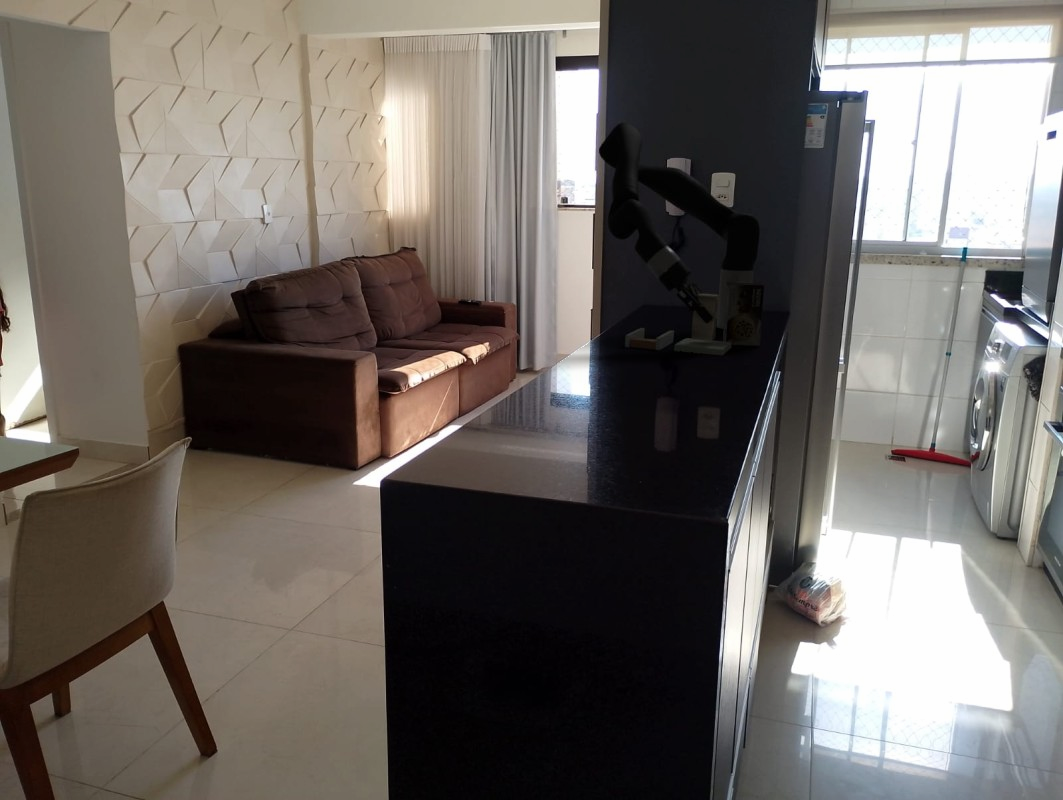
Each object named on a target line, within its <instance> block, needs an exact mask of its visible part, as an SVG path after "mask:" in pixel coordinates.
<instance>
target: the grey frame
mask: <svg viewBox="0 0 1063 800" xmlns="http://www.w3.org/2000/svg"><path fill="white" fill-rule="evenodd" d="M645 329H646V328H645V327H640V328H638V329H636V330H634V331H632V332H629V333H628V334H625V337H624V338H625V341H624V342H625V343H624V344H625V345H624V348H634V349H635V348H636V349H637V348H638V349H645V350H647V349H648V350H656V351H661V350H662V349H664V348H665V347H668V346H669V345H671V344H673V343H674V336H675V335H674V334H675V330H671V329H670V330H668V331H666V332H665V333H663V334H661V335H660V336H657V337H655V339H652V338H645ZM660 349H661V350H660Z"/></svg>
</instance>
